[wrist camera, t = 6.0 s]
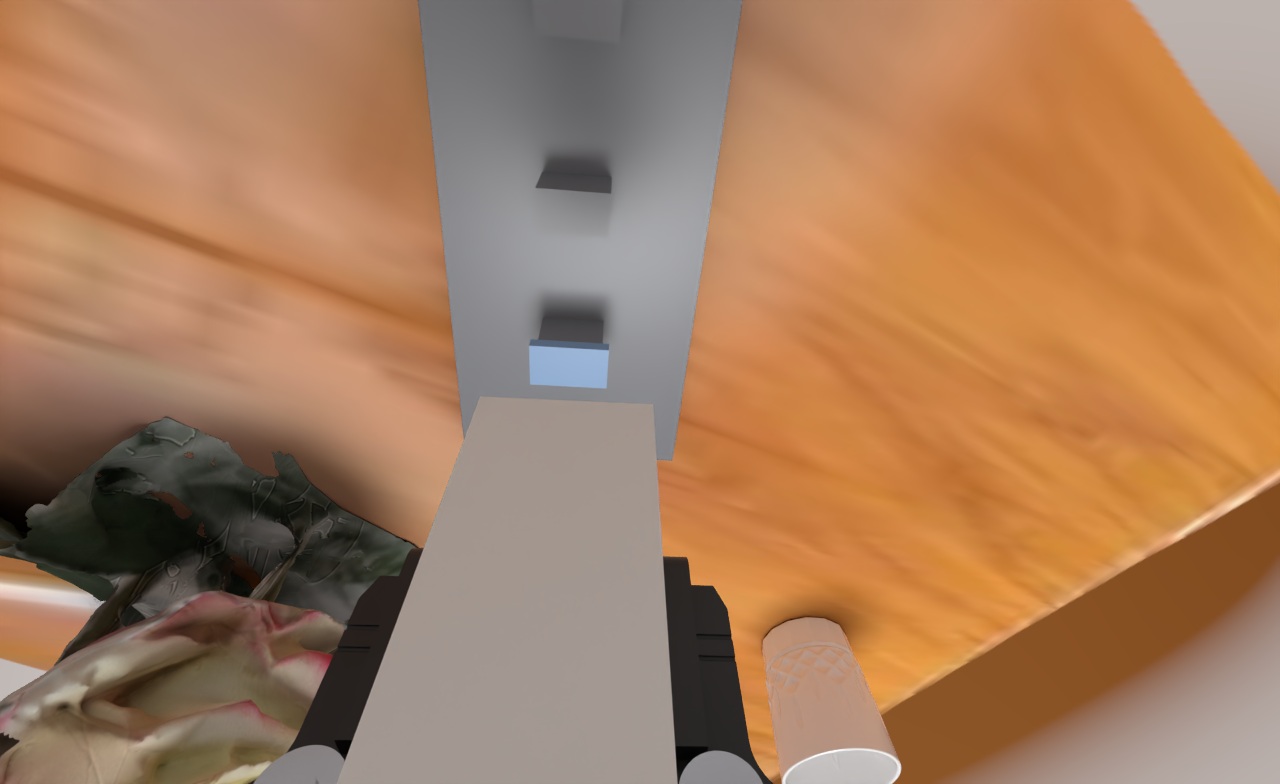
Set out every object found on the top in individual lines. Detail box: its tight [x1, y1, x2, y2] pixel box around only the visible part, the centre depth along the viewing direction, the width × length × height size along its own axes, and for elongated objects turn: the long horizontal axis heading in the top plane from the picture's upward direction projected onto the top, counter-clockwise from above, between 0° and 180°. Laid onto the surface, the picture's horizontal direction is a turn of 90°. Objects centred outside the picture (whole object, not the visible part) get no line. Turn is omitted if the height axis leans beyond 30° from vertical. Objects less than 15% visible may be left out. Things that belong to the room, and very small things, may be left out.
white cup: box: [762, 617, 901, 784], centre depth 44 cm, size 8×8×10 cm
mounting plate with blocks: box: [418, 0, 743, 461], centre depth 27 cm, size 23×12×4 cm, turn 175°
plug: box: [337, 396, 677, 784], centre depth 11 cm, size 4×4×10 cm
